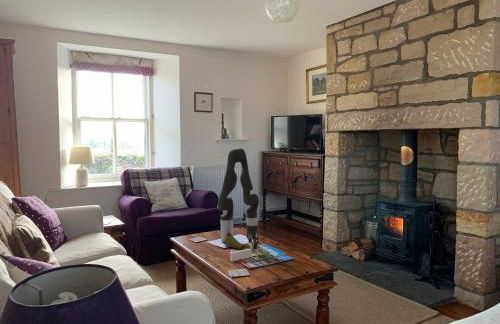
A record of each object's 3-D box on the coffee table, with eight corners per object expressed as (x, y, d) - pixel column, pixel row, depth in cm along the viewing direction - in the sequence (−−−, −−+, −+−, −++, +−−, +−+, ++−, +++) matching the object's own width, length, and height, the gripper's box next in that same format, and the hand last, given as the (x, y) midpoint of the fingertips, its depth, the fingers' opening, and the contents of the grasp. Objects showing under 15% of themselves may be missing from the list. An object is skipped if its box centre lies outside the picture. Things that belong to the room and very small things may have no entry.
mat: (243, 249, 246) (243, 249, 246) (252, 248, 249) (252, 247, 249) (253, 257, 232) (253, 256, 232) (262, 255, 234) (262, 254, 234)
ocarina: (246, 249, 247) (245, 235, 246) (241, 251, 243) (240, 237, 242) (225, 244, 260) (225, 230, 259) (220, 246, 256) (219, 232, 255)
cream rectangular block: (230, 260, 226) (230, 252, 226) (250, 257, 232) (250, 248, 231) (231, 261, 225) (231, 253, 224) (251, 257, 230) (251, 249, 230)
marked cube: (250, 253, 237) (250, 244, 236) (247, 251, 241) (247, 242, 241) (257, 252, 239) (257, 243, 238) (254, 249, 244) (254, 241, 243)
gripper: (242, 222, 244) (243, 245, 245) (251, 226, 231) (252, 251, 232) (252, 220, 247) (253, 243, 248) (261, 225, 234) (262, 249, 235)
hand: (252, 247), depth 240 cm, fingers open, 8 cm apart
